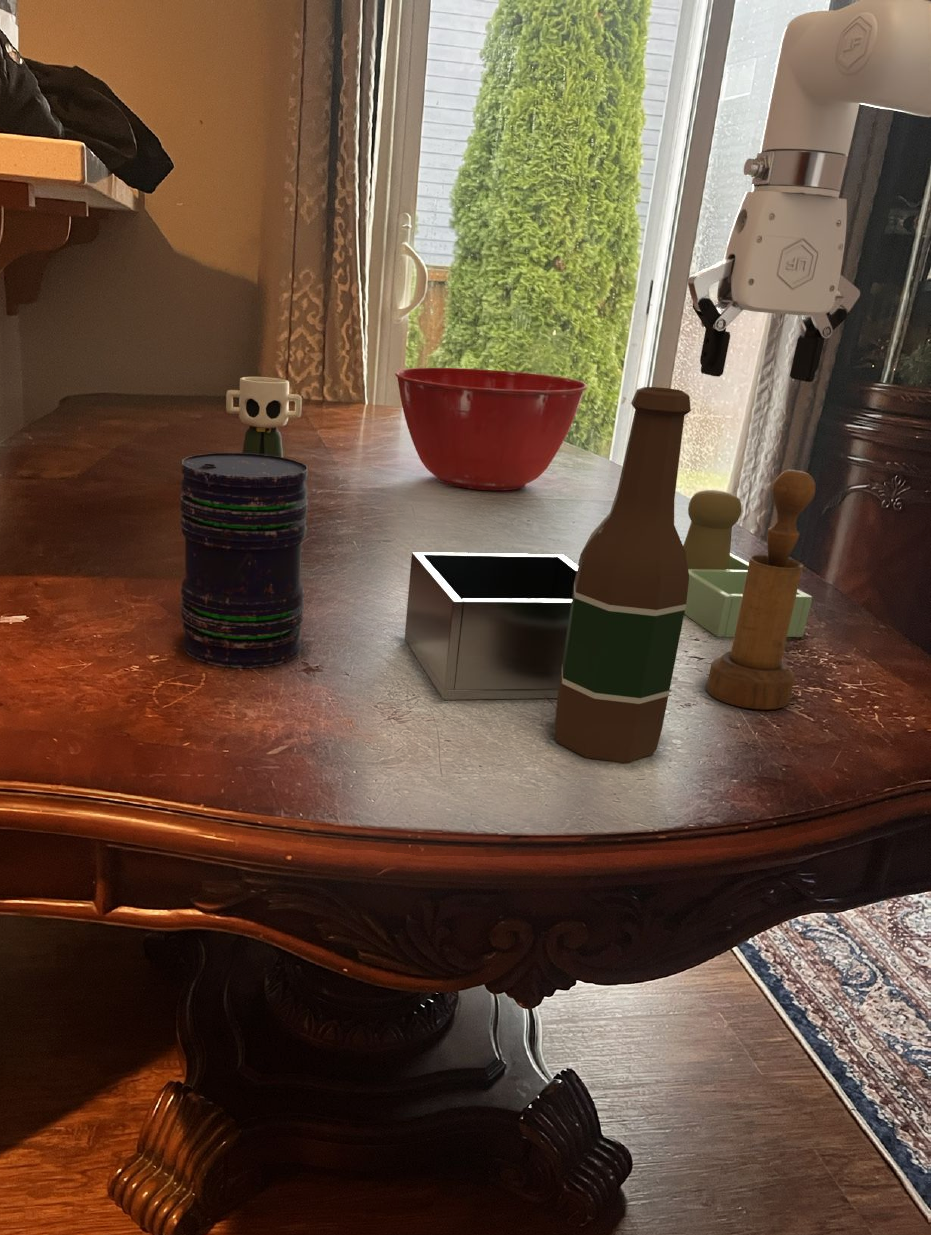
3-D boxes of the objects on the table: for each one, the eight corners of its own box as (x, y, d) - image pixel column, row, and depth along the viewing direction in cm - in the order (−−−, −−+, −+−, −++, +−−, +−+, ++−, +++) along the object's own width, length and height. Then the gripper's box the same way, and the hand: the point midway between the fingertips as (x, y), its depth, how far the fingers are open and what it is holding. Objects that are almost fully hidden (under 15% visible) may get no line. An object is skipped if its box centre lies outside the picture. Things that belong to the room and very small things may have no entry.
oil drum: (276, 623, 93) (281, 451, 87) (321, 661, 85) (330, 475, 79) (166, 633, 89) (163, 453, 82) (203, 674, 81) (202, 478, 75)
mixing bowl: (368, 487, 150) (375, 375, 144) (408, 457, 176) (415, 360, 170) (566, 510, 145) (582, 395, 139) (577, 476, 171) (591, 376, 165)
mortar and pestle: (713, 674, 89) (759, 459, 82) (793, 691, 87) (847, 471, 79) (699, 698, 83) (746, 470, 76) (783, 717, 81) (841, 483, 74)
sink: (551, 639, 94) (563, 554, 91) (610, 697, 82) (626, 602, 79) (404, 639, 91) (411, 551, 88) (443, 700, 79) (453, 601, 76)
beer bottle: (572, 709, 79) (624, 378, 70) (673, 737, 76) (741, 393, 66) (531, 743, 73) (581, 385, 64) (639, 775, 70) (709, 401, 60)
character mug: (223, 472, 153) (224, 379, 147) (227, 463, 159) (228, 374, 154) (298, 477, 153) (302, 384, 148) (299, 468, 160) (302, 379, 155)
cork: (659, 595, 110) (678, 490, 105) (679, 584, 115) (699, 483, 110) (715, 608, 107) (738, 501, 102) (734, 596, 112) (756, 493, 107)
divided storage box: (715, 584, 116) (723, 548, 114) (803, 637, 100) (813, 596, 99) (639, 583, 114) (645, 547, 112) (716, 637, 98) (725, 596, 97)
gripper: (732, 166, 89) (692, 377, 96) (908, 185, 93) (858, 387, 100) (690, 171, 96) (657, 368, 103) (857, 188, 99) (813, 377, 106)
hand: (756, 377), depth 101 cm, fingers open, 9 cm apart
